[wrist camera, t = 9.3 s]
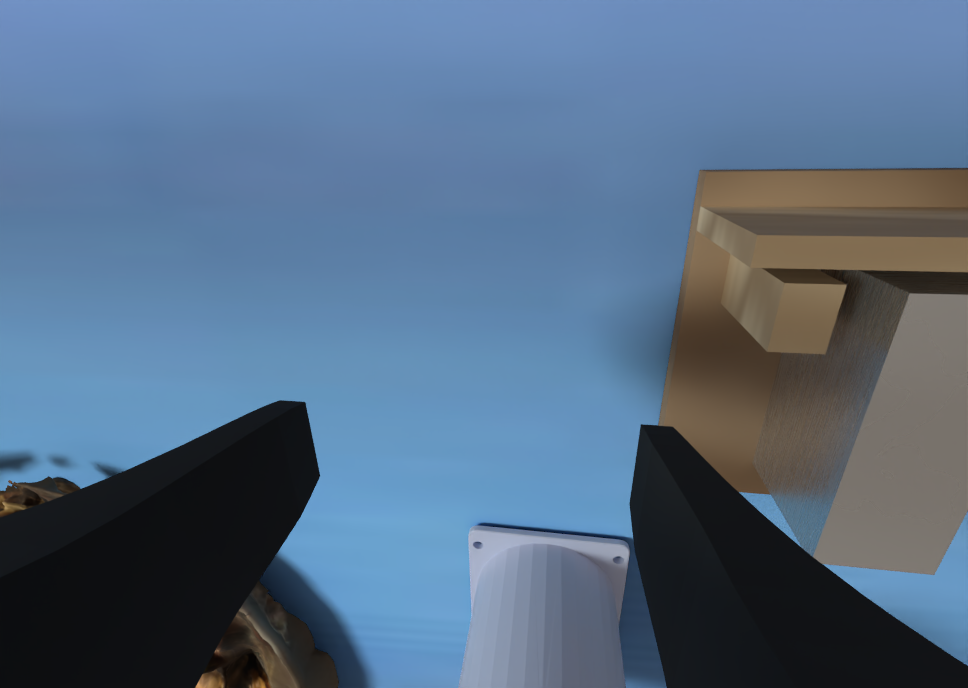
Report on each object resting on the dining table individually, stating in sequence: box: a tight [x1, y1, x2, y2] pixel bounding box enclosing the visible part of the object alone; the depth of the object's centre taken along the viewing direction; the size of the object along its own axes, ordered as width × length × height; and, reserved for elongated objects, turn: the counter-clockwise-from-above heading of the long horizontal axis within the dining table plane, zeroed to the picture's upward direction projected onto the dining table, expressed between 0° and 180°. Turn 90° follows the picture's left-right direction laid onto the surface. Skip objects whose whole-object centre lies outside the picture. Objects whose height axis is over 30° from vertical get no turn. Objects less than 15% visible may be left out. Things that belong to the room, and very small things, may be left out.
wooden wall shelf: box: [658, 168, 968, 494], centre depth 15 cm, size 13×11×6 cm
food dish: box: [0, 477, 339, 688], centre depth 31 cm, size 35×33×8 cm
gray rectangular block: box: [752, 269, 968, 575], centre depth 15 cm, size 9×4×5 cm, turn 1°
